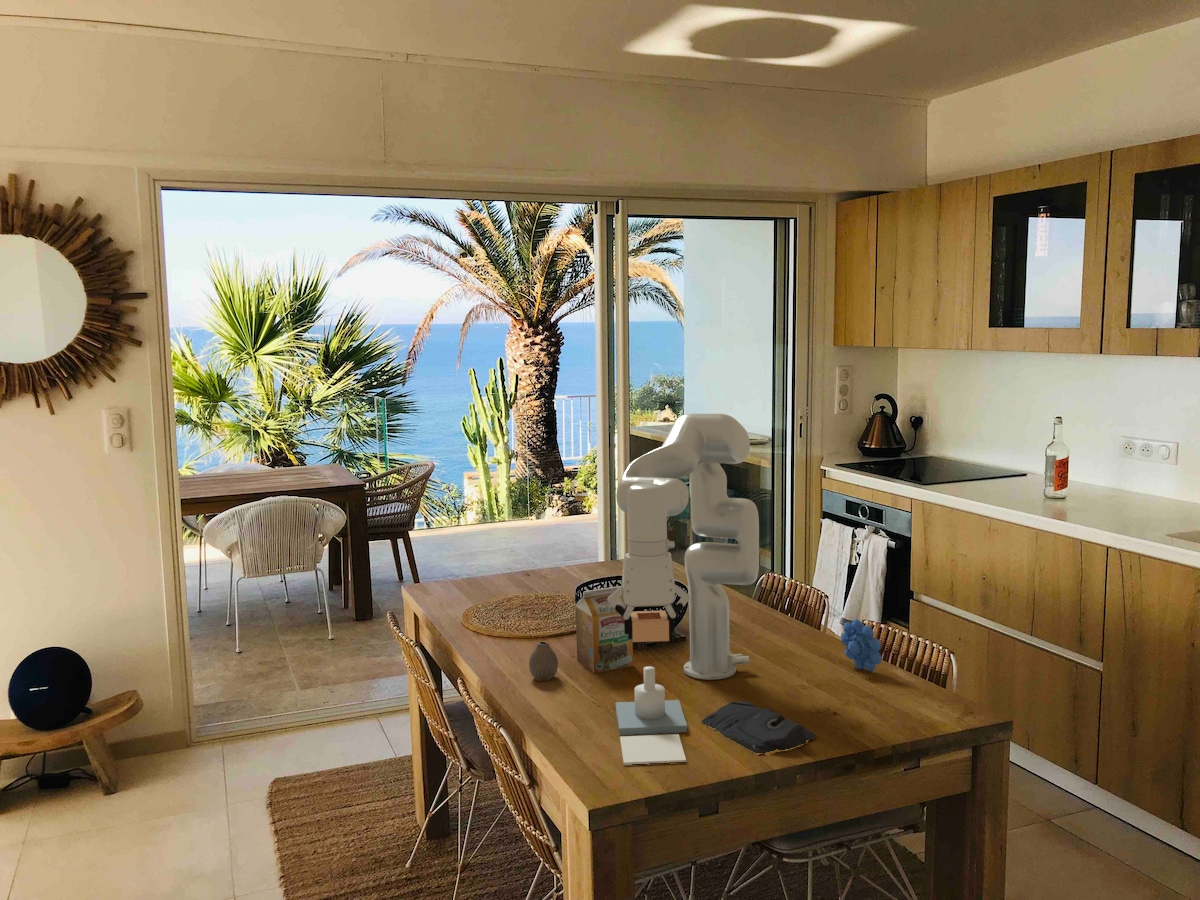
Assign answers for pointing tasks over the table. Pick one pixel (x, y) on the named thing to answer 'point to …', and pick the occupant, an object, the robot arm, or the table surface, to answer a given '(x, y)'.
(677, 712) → the post stand
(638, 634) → the copper link
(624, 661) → the milk carton
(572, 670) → the table surface
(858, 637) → the grapes
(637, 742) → the white mat
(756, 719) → the dark pouch with grommet
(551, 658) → the vase
